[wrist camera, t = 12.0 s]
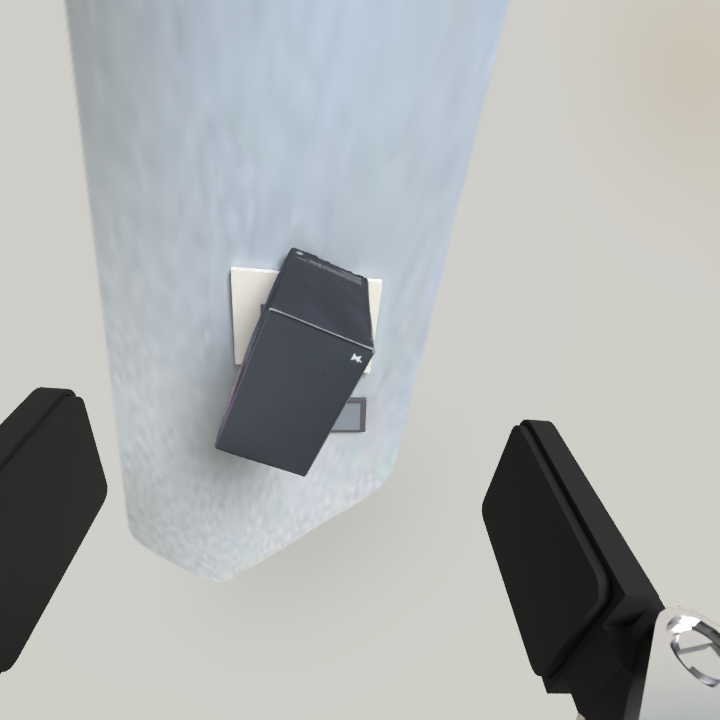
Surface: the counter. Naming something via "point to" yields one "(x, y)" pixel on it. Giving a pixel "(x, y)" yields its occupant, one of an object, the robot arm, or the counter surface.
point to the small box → (299, 365)
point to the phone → (352, 416)
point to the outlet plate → (253, 295)
